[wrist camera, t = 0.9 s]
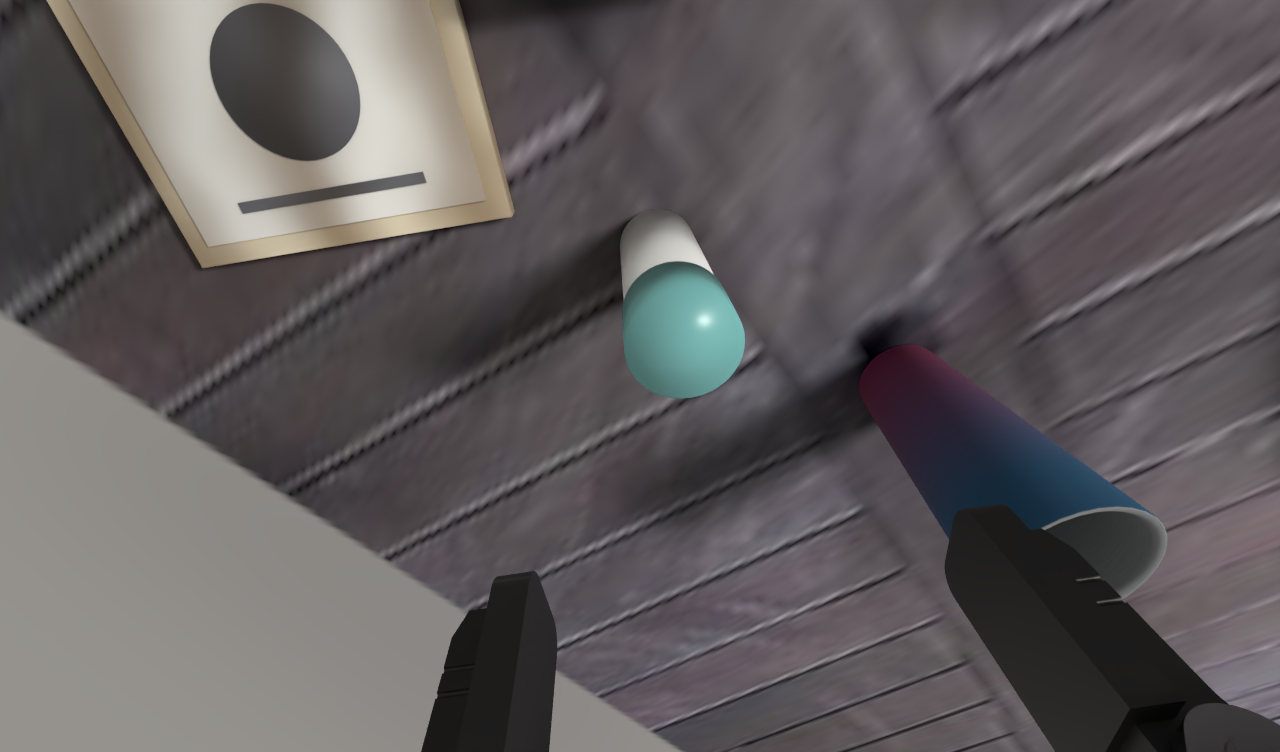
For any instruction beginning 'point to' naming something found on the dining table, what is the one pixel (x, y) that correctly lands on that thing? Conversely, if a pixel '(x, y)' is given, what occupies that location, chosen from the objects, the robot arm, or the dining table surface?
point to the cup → (1003, 465)
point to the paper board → (296, 117)
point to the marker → (675, 310)
